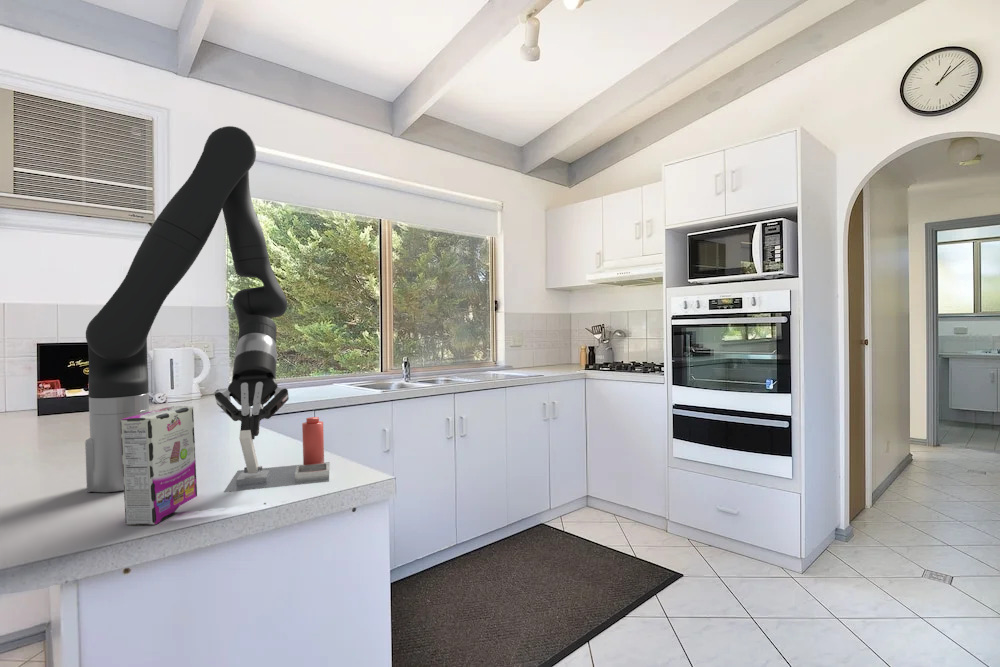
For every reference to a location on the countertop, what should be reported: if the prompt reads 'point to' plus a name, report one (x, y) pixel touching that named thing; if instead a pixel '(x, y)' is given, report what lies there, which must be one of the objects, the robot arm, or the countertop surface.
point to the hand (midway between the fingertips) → (249, 437)
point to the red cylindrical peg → (313, 441)
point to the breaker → (249, 452)
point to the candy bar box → (158, 463)
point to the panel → (280, 477)
